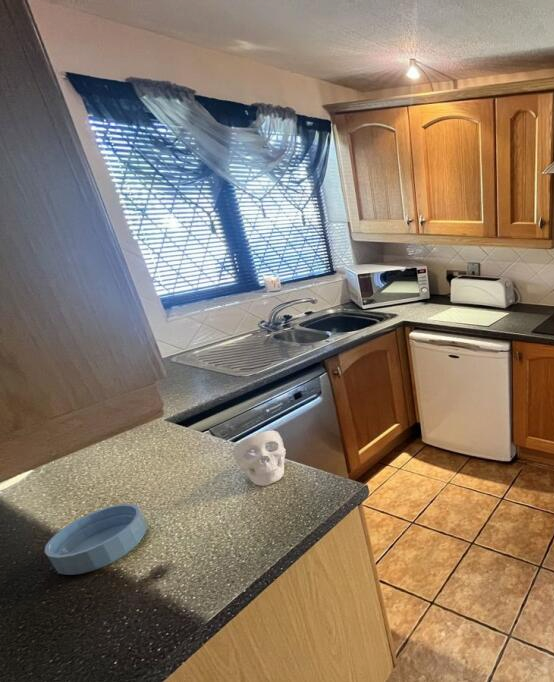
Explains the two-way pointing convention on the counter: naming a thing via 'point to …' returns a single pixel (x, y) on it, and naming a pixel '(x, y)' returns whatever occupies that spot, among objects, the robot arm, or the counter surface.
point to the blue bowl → (96, 539)
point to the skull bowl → (261, 457)
